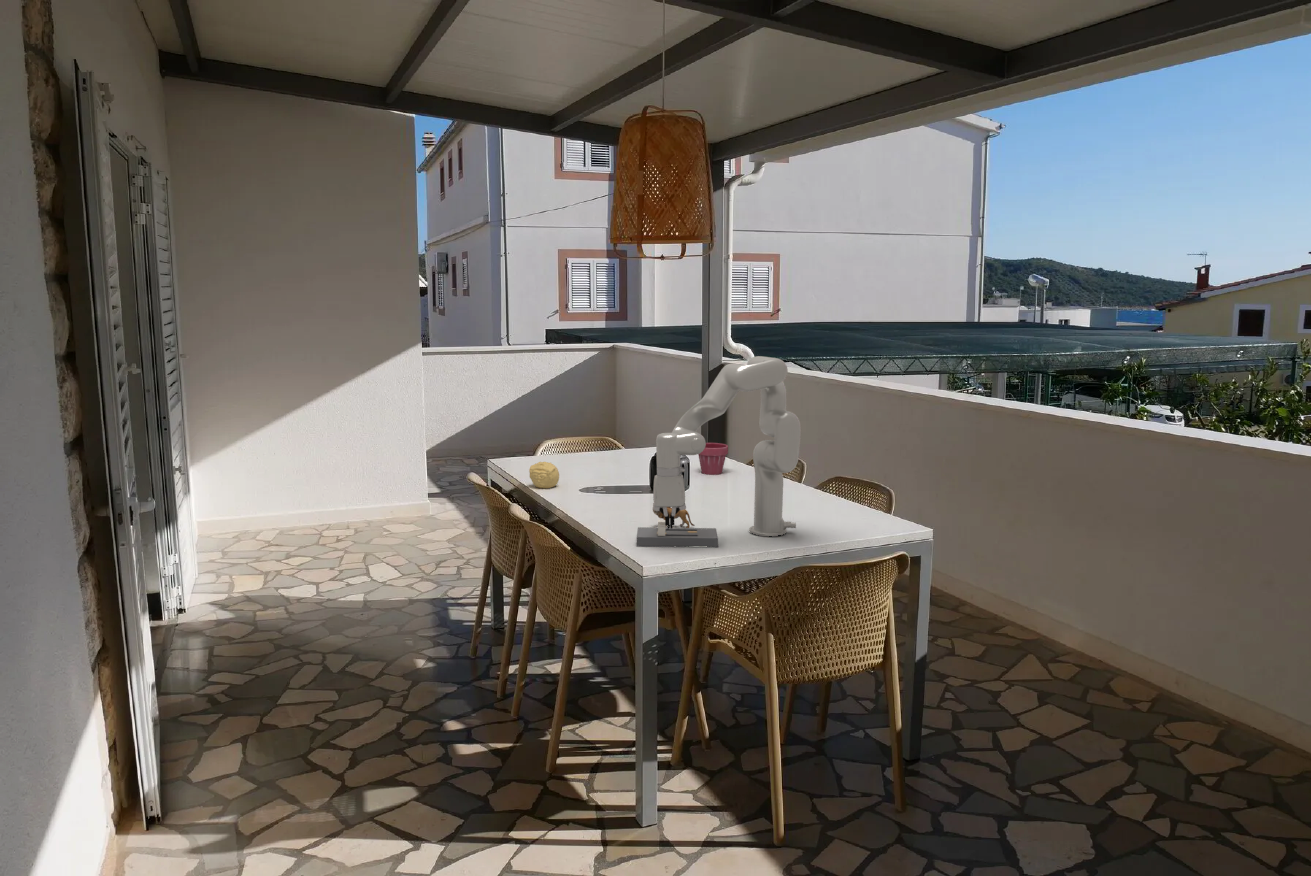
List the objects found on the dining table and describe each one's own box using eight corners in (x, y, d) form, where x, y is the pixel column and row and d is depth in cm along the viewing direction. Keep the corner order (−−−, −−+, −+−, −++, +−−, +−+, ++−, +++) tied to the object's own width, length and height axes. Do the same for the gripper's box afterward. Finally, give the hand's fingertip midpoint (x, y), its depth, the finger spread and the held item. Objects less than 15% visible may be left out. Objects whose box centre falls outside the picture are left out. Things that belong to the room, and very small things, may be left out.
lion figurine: (652, 528, 327) (652, 502, 326) (652, 524, 332) (652, 499, 331) (694, 529, 327) (695, 503, 325) (694, 525, 332) (695, 500, 331)
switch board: (715, 537, 316) (715, 527, 315) (717, 547, 303) (718, 537, 303) (637, 536, 316) (637, 527, 316) (636, 546, 303) (636, 536, 303)
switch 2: (665, 536, 307) (665, 525, 307) (665, 538, 304) (665, 527, 304) (657, 536, 307) (657, 524, 307) (657, 538, 304) (657, 527, 304)
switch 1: (665, 530, 314) (665, 519, 314) (665, 533, 311) (665, 522, 311) (658, 530, 314) (658, 519, 314) (657, 533, 311) (658, 522, 311)
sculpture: (525, 488, 391) (525, 462, 389) (539, 483, 402) (539, 458, 400) (550, 490, 387) (550, 464, 385) (563, 485, 398) (563, 460, 397)
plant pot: (720, 477, 419) (720, 448, 417) (691, 474, 425) (691, 446, 423) (732, 471, 432) (732, 444, 430) (703, 469, 438) (704, 441, 436)
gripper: (691, 468, 306) (692, 524, 309) (645, 469, 306) (646, 525, 310) (692, 473, 299) (693, 530, 302) (645, 474, 299) (646, 531, 302)
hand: (669, 527), depth 306 cm, fingers closed
